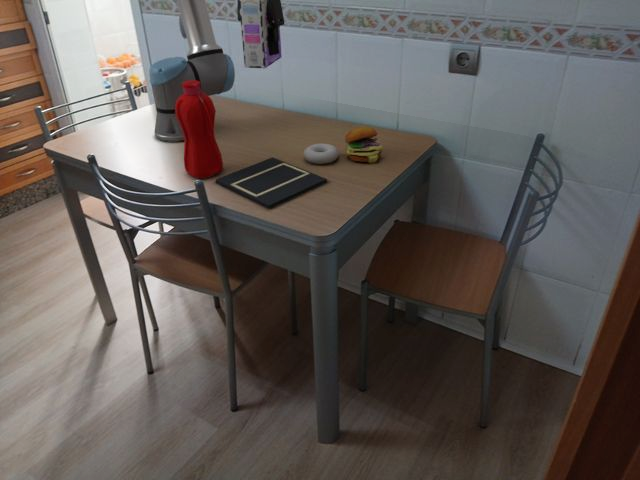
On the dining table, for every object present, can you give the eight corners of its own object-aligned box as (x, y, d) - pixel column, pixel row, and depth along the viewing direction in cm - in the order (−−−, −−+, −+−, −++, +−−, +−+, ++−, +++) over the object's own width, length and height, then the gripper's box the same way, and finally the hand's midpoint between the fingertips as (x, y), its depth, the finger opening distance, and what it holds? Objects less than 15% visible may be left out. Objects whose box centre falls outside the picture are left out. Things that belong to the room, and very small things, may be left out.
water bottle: (205, 184, 138) (190, 89, 125) (181, 173, 145) (164, 82, 131) (232, 173, 144) (220, 81, 131) (208, 162, 150) (195, 74, 137)
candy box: (265, 69, 132) (260, -2, 124) (244, 68, 134) (237, -2, 125) (282, 57, 144) (278, -8, 135) (262, 56, 145) (257, -9, 137)
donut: (297, 162, 149) (327, 168, 144) (296, 151, 147) (326, 156, 143) (316, 150, 156) (345, 156, 152) (315, 139, 155) (344, 144, 150)
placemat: (215, 182, 139) (215, 179, 138) (272, 160, 151) (272, 156, 150) (269, 209, 125) (268, 205, 125) (327, 182, 137) (327, 178, 137)
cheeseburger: (359, 167, 144) (354, 131, 141) (340, 163, 153) (336, 129, 150) (389, 159, 148) (385, 124, 145) (369, 155, 157) (365, 122, 154)
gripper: (215, -46, 130) (227, 49, 141) (271, -45, 117) (279, 60, 129) (239, -47, 134) (248, 45, 146) (296, -47, 121) (301, 54, 133)
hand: (263, 52), depth 137 cm, fingers closed on candy box, 8 cm apart
